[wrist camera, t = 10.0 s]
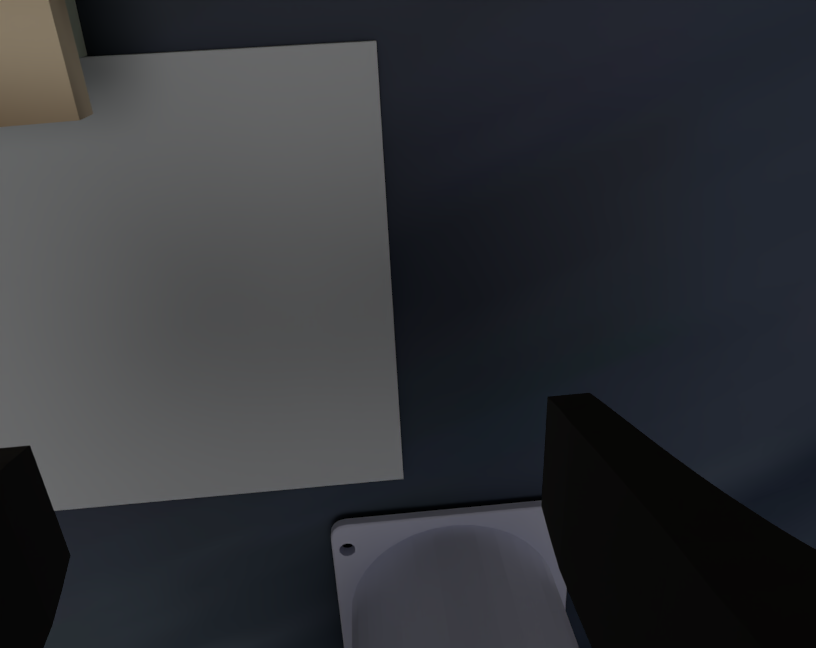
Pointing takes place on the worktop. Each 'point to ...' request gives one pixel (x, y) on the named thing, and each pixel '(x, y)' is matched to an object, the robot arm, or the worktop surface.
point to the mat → (202, 279)
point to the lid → (39, 65)
